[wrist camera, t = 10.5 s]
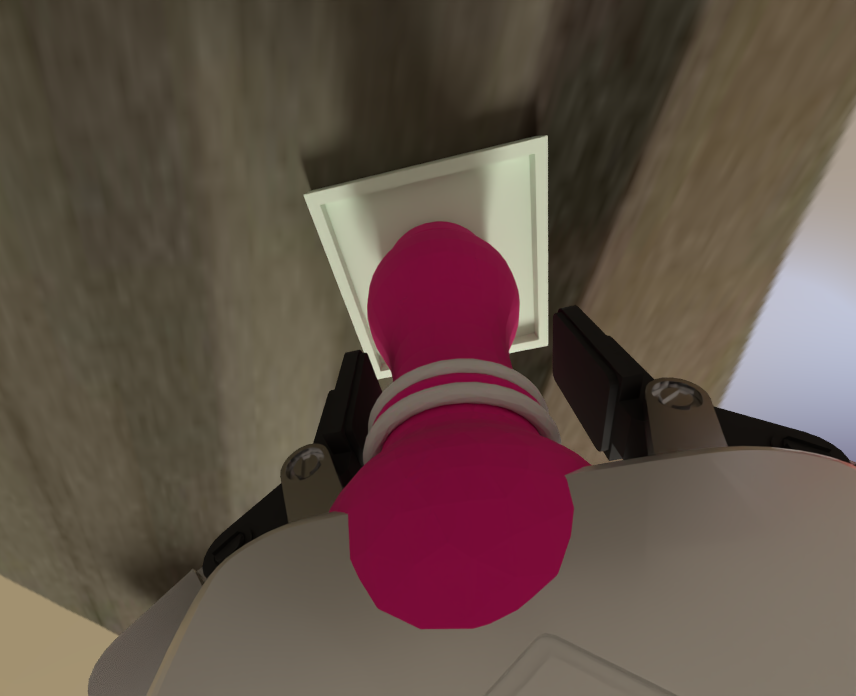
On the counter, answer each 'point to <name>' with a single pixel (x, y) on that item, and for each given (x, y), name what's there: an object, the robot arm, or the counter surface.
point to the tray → (449, 202)
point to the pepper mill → (454, 444)
